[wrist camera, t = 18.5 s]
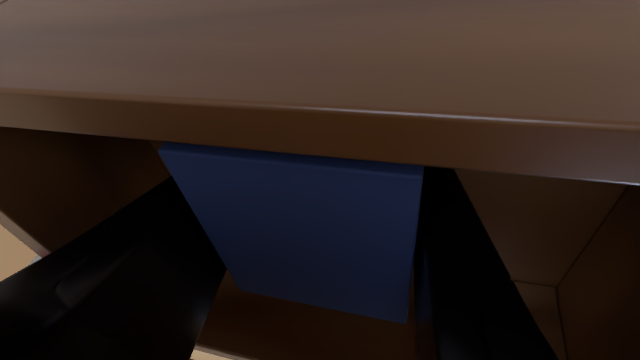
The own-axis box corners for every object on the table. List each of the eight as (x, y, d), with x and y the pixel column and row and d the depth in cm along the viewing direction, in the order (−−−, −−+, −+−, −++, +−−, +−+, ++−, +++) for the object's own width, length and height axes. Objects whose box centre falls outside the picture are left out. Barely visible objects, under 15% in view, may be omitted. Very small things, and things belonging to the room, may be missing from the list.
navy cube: (438, 35, 7) (422, 178, 5) (421, 193, 10) (406, 325, 8) (248, 35, 8) (155, 150, 6) (287, 179, 11) (239, 291, 9)
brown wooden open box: (51, -33, 9) (-181, 80, 6) (836, -80, 5) (1437, 172, 2) (201, 223, 16) (136, 334, 13) (569, 281, 13) (603, 457, 9)
